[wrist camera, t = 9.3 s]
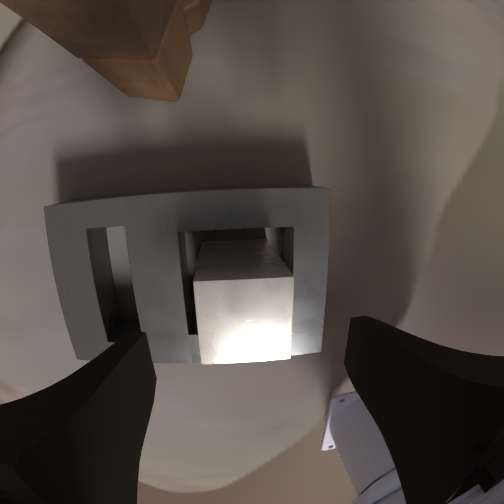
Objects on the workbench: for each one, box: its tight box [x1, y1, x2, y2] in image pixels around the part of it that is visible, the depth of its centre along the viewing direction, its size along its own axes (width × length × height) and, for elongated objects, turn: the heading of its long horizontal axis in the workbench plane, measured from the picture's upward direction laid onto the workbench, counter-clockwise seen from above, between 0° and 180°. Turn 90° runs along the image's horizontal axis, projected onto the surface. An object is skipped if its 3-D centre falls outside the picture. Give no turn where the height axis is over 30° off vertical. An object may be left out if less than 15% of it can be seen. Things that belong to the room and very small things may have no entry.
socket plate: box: [44, 186, 330, 363], centre depth 17 cm, size 16×10×3 cm, turn 91°
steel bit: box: [193, 239, 294, 364], centre depth 16 cm, size 4×4×7 cm
